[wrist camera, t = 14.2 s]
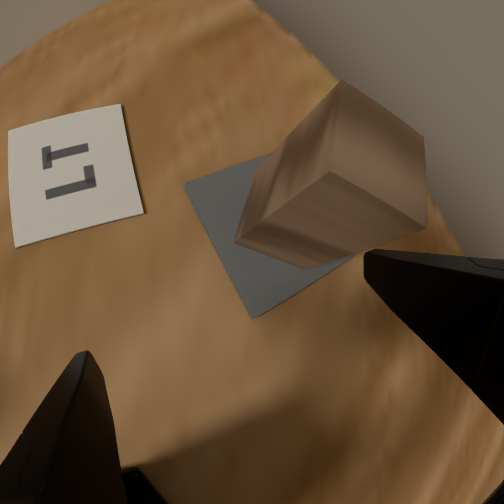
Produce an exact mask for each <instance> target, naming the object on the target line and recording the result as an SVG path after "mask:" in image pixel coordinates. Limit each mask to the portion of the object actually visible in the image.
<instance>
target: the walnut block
mask: <svg viewBox="0 0 504 504" xmlns="http://www.w3.org/2000/svg"><path fill="white" fill-rule="evenodd" d="M426 226H427V192H426V165H425V149H424V137H423V136H421V135H420V134H419V133H418V132H417V131H415V130H414V129H413V128H411V127H410V126H409V125H408V124H406V123H405V122H404V121H402V120H401V119H400V118H398V117H397V116H395V115H394V114H393V113H391V112H390V111H388V110H387V109H386V108H384V107H383V106H381V105H380V104H378V103H377V102H376V101H374V100H373V99H371V98H370V97H368V96H367V95H365V94H364V93H362V92H361V91H359V90H357V89H356V88H354V87H353V86H351V85H349V84H348V83H346V82H345V81H343V80H341V81H340V82H339V83H338V84H337V85H336V86H335V87H334V88H333V89H332V90H331V91H330V93H329V94H328V95H327V96H326V97H325V98H324V99H323V100H322V101H321V102H320V103H319V104H318V105H317V106H316V107H315V108H314V109H313V110H312V111H311V112H310V113H309V114H308V115H307V116H306V117H305V118H304V119H303V121H302V122H301V123H300V124H299V125H298V126H297V127H296V128H295V129H294V130H293V131H292V132H291V133H290V134H289V135H288V137H287V138H286V139H285V140H284V141H283V142H282V143H281V144H280V145H279V146H278V147H277V148H276V149H275V151H274V152H273V153H272V154H271V155H270V156H269V157H268V158H267V159H266V160H265V161H264V163H263V164H262V165H261V166H260V167H259V168H258V169H257V170H256V171H255V173H254V175H253V178H252V182H251V185H250V188H249V192H248V195H247V198H246V202H245V205H244V208H243V212H242V215H241V219H240V222H239V225H238V229H237V232H236V235H235V239H234V242H233V243H236V244H238V245H241V246H243V247H246V248H249V249H251V250H254V251H256V252H259V253H262V254H264V255H267V256H270V257H272V258H275V259H277V260H280V261H283V262H285V263H288V264H290V265H293V266H296V267H298V268H301V269H303V270H308V269H311V268H314V267H317V266H320V265H323V264H326V263H329V262H331V261H334V260H337V259H340V258H343V257H346V256H349V255H352V254H355V253H358V252H361V251H364V250H367V249H369V248H372V247H375V246H378V245H381V244H384V243H386V242H389V241H392V240H395V239H398V238H401V237H403V236H406V235H409V234H412V233H414V232H417V231H420V230H423V229H425V228H426Z"/></svg>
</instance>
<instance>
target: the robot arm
mask: <svg viewBox="0 0 504 504" xmlns="http://www.w3.org/2000/svg"><path fill="white" fill-rule="evenodd" d="M364 278H365V280H366V282H367V283H368V284H369V285H370V286H371V287H372V289H373V290H374V291H375V292H376V293H377V294H378V296H379V297H380V298H381V299H382V300H383V301H384V302H385V304H386V305H387V306H388V307H389V308H390V309H391V310H392V311H393V312H394V313H395V314H396V315H397V316H398V317H399V318H400V319H401V320H402V321H403V322H404V323H405V324H406V325H407V326H408V327H409V328H410V329H411V330H412V331H413V332H414V333H415V334H416V335H417V336H419V337H420V338H421V339H422V340H423V341H424V342H425V343H426V344H427V345H428V346H429V347H430V348H431V349H432V350H433V351H434V352H435V353H436V354H437V355H438V356H439V357H440V358H441V359H442V360H443V361H444V362H445V363H446V364H447V365H448V366H449V367H450V368H451V369H452V370H453V371H454V372H455V373H456V374H457V375H458V376H459V377H460V379H461V380H462V381H463V382H464V383H465V384H466V385H467V386H468V387H469V388H470V389H471V390H472V391H473V392H474V393H475V394H476V395H477V396H478V398H479V399H480V400H481V401H482V402H483V403H484V404H485V405H486V406H487V407H488V408H489V409H490V410H491V411H492V413H493V414H494V415H495V416H496V417H497V418H498V419H499V420H500V421H501V422H502V423H503V425H504V260H503V259H486V258H473V257H463V256H452V255H440V254H429V253H418V252H406V251H394V250H382V249H373V250H371V251H368V252H366V253H365V254H364ZM22 433H23V434H21V435H20V436H19V438H18V439H17V441H16V443H15V444H14V446H13V447H12V449H11V450H10V452H9V453H8V455H7V456H6V458H5V459H4V461H3V462H2V464H1V465H0V504H168V502H167V501H166V500H165V499H164V498H163V497H162V496H161V494H160V493H159V492H158V491H157V490H156V489H155V487H154V486H153V485H152V484H151V483H150V481H149V480H148V479H147V478H146V477H145V475H144V474H143V473H142V472H141V470H139V469H138V468H130V469H128V470H126V471H124V472H121V466H120V460H119V454H118V448H117V441H116V434H115V427H114V421H113V416H112V412H111V408H110V404H109V399H108V395H107V390H106V385H105V380H104V376H103V374H102V372H101V370H100V368H99V366H98V364H97V363H96V361H95V359H94V357H93V355H92V354H91V353H90V351H83V352H80V353H77V354H76V355H75V356H74V357H73V359H72V360H71V361H70V363H69V364H68V365H67V367H66V368H65V370H64V371H63V372H62V374H61V375H60V377H59V378H58V379H57V381H56V382H55V384H54V385H53V387H52V388H51V390H50V391H49V392H48V394H47V395H46V397H45V398H44V400H43V401H42V403H41V404H40V406H39V407H38V409H37V410H36V412H35V413H34V415H33V416H32V418H31V419H30V421H29V422H28V424H27V425H26V427H25V428H24V430H23V432H22ZM133 473H136V474H138V476H137V477H133V476H132V474H133ZM482 504H504V480H503V481H502V482H501V484H500V485H499V486H498V487H497V488H496V489H495V490H494V491H493V493H492V494H491V495H490V496H489V497H488V498H487V499H486V500H485V501H484V502H483V503H482Z"/></svg>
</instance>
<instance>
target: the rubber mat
mask: <svg viewBox="0 0 504 504" xmlns="http://www.w3.org/2000/svg"><path fill="white" fill-rule="evenodd" d="M271 154H272V153H271ZM271 154H268V155H265V156H262V157H258V158H255V159H252V160H249V161H246V162H243V163H240V164H237V165H235V166H232V167H229V168H226V169H223V170H220V171H217V172H215V173H212V174H209V175H206V176H203V177H201V178H198V179H195V180H193V181H190V182H187V183H186V184H185V186H184V188H185V190H186V192H187V194H188V196H189V198H190V200H191V202H192V204H193V206H194V208H195V210H196V212H197V214H198V216H199V218H200V220H201V222H202V224H203V226H204V228H205V230H206V232H207V234H208V236H209V238H210V240H211V242H212V244H213V245H214V247H215V249H216V251H217V253H218V255H219V257H220V259H221V261H222V263H223V265H224V267H225V269H226V271H227V273H228V275H229V277H230V278H231V280H232V282H233V284H234V286H235V288H236V290H237V292H238V294H239V296H240V298H241V300H242V301H243V303H244V305H245V307H246V309H247V311H248V313H249V315H250V317H251V318H252V319H253V318H256V317H258V316H260V315H261V314H263V313H265V312H266V311H268V310H270V309H271V308H273V307H275V306H276V305H278V304H280V303H281V302H283V301H284V300H286V299H288V298H289V297H291V296H292V295H294V294H296V293H297V292H299V291H300V290H302V289H304V288H305V287H307V286H308V285H310V284H311V283H313V282H315V281H316V280H318V279H319V278H321V277H322V276H324V275H325V274H327V273H329V272H330V271H332V270H333V269H335V268H336V267H338V266H339V265H341V264H342V263H344V262H345V261H347V260H348V259H350V258H351V257H353V256H354V255H356V254H352V255H349V256H346V257H343V258H340V259H337V260H334V261H331V262H329V263H326V264H323V265H320V266H317V267H314V268H311V269H308V270H303V269H301V268H298V267H296V266H293V265H290V264H288V263H285V262H283V261H280V260H277V259H275V258H272V257H270V256H267V255H264V254H262V253H259V252H256V251H254V250H251V249H249V248H246V247H243V246H241V245H238V244H236V243H233V242H234V239H235V235H236V232H237V229H238V225H239V222H240V219H241V215H242V212H243V208H244V205H245V202H246V198H247V195H248V192H249V188H250V185H251V182H252V178H253V175H254V173H255V171H256V170H257V169H258V168H259V167H260V166H261V165H262V164H263V163H264V161H265V160H266V159H267V158H268V157H269V156H270V155H271Z"/></svg>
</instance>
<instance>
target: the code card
mask: <svg viewBox="0 0 504 504" xmlns="http://www.w3.org/2000/svg"><path fill="white" fill-rule="evenodd" d="M8 174H9V194H10V207H11V218H12V227H13V235H14V243H15V248H19V247H22V246H26V245H29V244H32V243H36V242H39V241H43V240H46V239H50V238H53V237H57V236H60V235H64V234H67V233H71V232H75V231H78V230H82V229H86V228H90V227H93V226H97V225H101V224H105V223H109V222H113V221H117V220H121V219H125V218H129V217H133V216H137V215H142V214H144V212H143V208H142V204H141V200H140V196H139V191H138V187H137V183H136V179H135V174H134V170H133V165H132V160H131V156H130V151H129V146H128V141H127V136H126V131H125V126H124V120H123V115H122V109H121V104H117V105H111V106H105V107H100V108H95V109H90V110H85V111H81V112H76V113H72V114H67V115H63V116H59V117H55V118H51V119H47V120H43V121H40V122H36V123H33V124H29V125H26V126H22V127H19V128H16V129H12V130H9V131H8Z"/></svg>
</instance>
